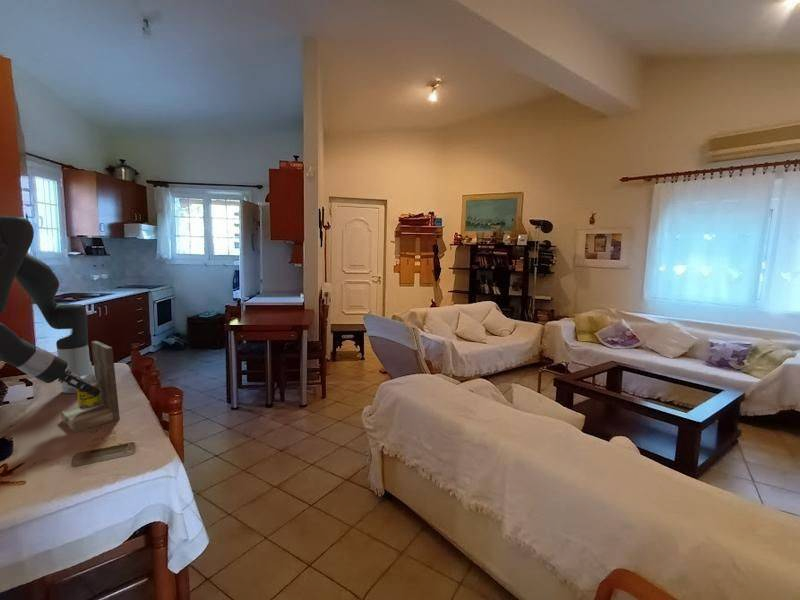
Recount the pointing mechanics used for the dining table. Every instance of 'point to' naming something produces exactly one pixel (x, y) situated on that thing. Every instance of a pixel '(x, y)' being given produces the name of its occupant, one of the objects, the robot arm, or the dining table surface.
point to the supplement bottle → (86, 399)
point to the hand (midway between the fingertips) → (94, 391)
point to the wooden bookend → (108, 393)
